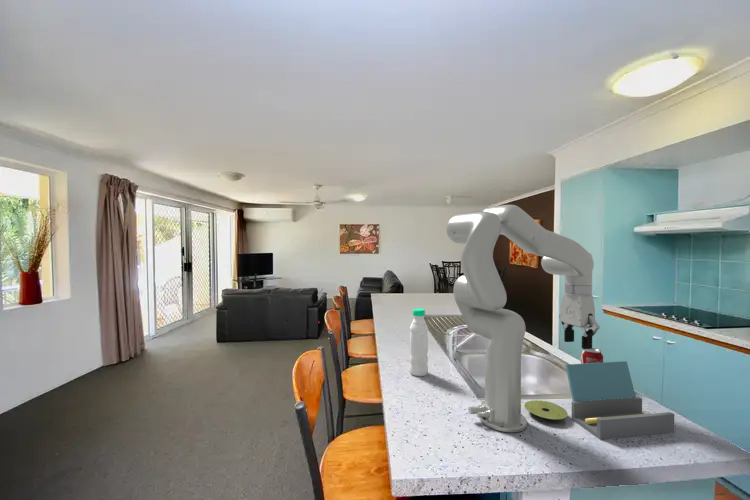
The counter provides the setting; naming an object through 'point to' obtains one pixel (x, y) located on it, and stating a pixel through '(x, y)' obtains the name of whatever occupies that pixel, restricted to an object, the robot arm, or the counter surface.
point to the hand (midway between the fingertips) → (577, 344)
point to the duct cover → (600, 381)
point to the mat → (546, 409)
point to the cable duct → (620, 418)
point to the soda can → (591, 356)
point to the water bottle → (418, 344)
